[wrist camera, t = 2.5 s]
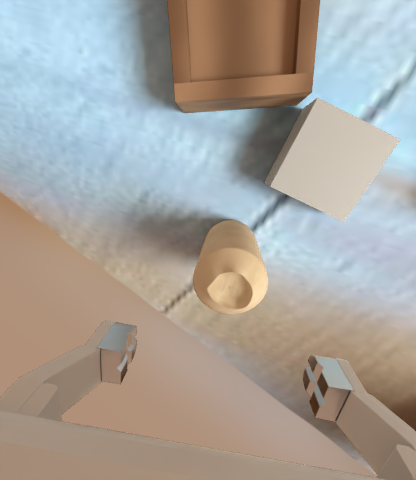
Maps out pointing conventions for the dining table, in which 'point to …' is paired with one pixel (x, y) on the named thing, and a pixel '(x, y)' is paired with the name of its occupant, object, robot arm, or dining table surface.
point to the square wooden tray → (242, 53)
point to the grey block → (330, 159)
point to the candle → (230, 269)
